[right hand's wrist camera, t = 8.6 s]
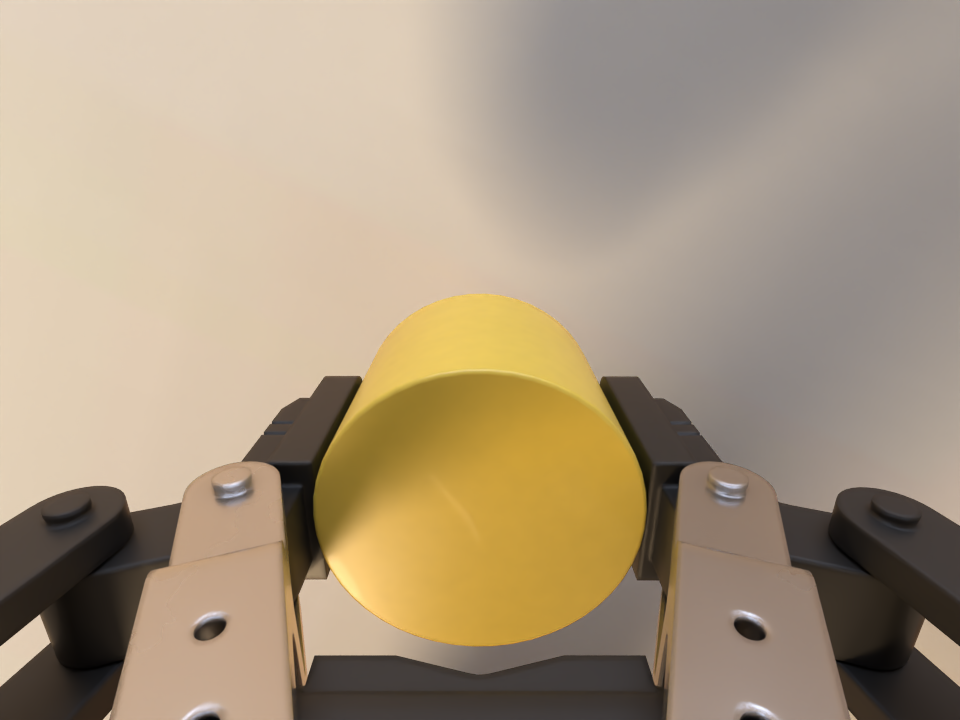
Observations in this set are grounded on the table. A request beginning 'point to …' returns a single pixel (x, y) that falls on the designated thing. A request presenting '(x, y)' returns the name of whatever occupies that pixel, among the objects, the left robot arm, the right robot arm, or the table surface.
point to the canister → (480, 479)
